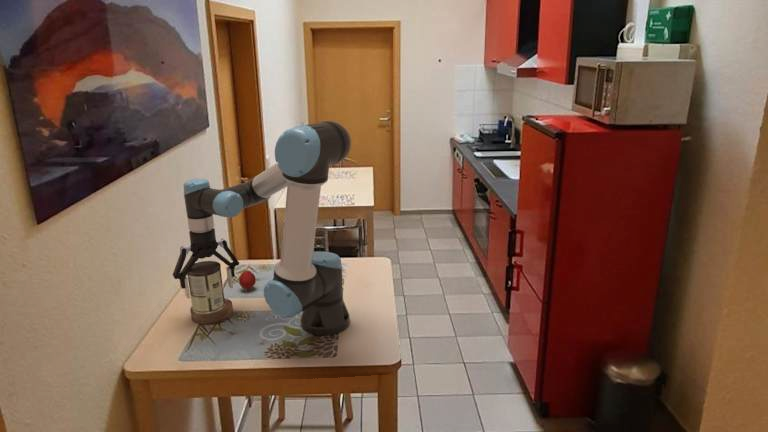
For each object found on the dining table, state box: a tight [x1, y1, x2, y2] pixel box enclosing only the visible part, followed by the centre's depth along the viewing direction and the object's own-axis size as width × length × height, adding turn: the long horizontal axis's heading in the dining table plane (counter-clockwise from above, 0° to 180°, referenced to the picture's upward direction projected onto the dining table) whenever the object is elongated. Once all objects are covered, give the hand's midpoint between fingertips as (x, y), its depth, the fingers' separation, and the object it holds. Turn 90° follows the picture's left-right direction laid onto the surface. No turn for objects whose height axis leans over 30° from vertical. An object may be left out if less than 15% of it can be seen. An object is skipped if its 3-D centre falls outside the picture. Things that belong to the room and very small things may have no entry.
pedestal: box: [189, 297, 234, 325], centre depth 172 cm, size 13×13×3 cm
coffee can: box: [186, 260, 225, 314], centre depth 169 cm, size 10×10×14 cm
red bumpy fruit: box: [238, 268, 257, 291], centre depth 189 cm, size 6×6×8 cm
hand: (209, 291), depth 170 cm, fingers open, 13 cm apart
